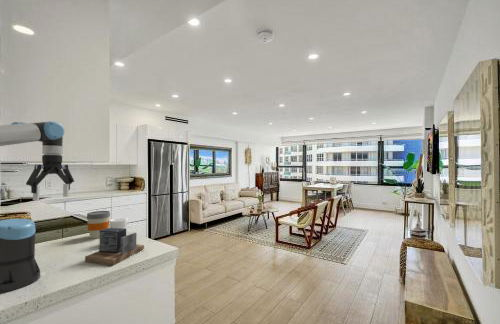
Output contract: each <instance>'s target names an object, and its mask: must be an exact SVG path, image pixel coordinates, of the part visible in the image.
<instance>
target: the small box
mask: <svg viewBox="0 0 500 324" xmlns="http://www.w3.org/2000/svg"><path fill="white" fill-rule="evenodd" d="M124 236H127V230H126V229H123V228H110V227H108V228H107V229H103V230H100V238H99V246H98V247H99V250H98V251H99V252H107V253H119V252H121V238H122V237H124Z"/></svg>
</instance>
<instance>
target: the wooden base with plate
mask: <svg viewBox="0 0 500 324" xmlns="http://www.w3.org/2000/svg"><path fill="white" fill-rule="evenodd" d="M143 249H144V250H145V244H137V232H133V233H130V234H126V236H124V237H122V238H121V252H119V253H107V252H99V250H98V251H95V252H93V253H91V254H88V255H85V256H84V262H85V263H89V264H99V265H101V264H102V265H107V266H115V265H118V264H119V263H121V262H124V261H125V260H128V259H129V258H131V257H133V256H134V254H135V255H137V254H139V253H140V251H141V252H142V250H143ZM144 250H143V251H144ZM138 252H139V253H138ZM136 253H137V254H136ZM132 255H133V256H132ZM130 256H131V257H130Z"/></svg>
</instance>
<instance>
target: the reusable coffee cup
mask: <svg viewBox="0 0 500 324" xmlns="http://www.w3.org/2000/svg"><path fill="white" fill-rule="evenodd" d="M110 217H111V212H110V211H109V210H97V211H90V212H87V214H86V219H87V223H86V225H87V230H88V233H89V238H90V239H100V230H103V229H107V228H110V220H111V219H110Z"/></svg>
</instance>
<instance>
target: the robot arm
mask: <svg viewBox="0 0 500 324" xmlns="http://www.w3.org/2000/svg"><path fill="white" fill-rule="evenodd" d="M64 135H65V128H64V126H63V125H62V124H61V123H60V122H59V121H58V122H57V121H52V120H51V121H41V122H30V123H29V122H28V123H27V122H18V121H14V122H12V123H10V124H0V147H5V146H11V145H19V144H25V143H26V144H27V143H34V142H41V145H42V148H41V149H42V150H41V151H42V155H41V156H42V157H41V163H42V164H34V169H33V171H32V173H31V174H30V176H29V178H27V181H26V183H25V185H26V186H29V187H31V188H30V189H31V190H30V191H31V194H32V201H37V202H38V201H40V186H39V184H40V183H42V181H43V180H44V179H45V178H46V177H47V176H48V175H53V174H54V175H57V176H58V177H59V178H60V179H61V181H63V185H62V188H63V189H62V197H64V198H66V197H67V198H68V197H69V195H70V194H69V192H70V190H71V184H72V183H75V179H74V177H73V176H72V173H71V171H70V170H69V165H68V164H62V162H63V139H64V138H63V137H64ZM36 229H37V228H36V224H35V222H34V220H32V219H29V218H8V219H2V218H0V293H4V292H3V291H6V292H10V291H14V290H17V289H21V288H23V287H26V286H29V285H31V284H33V283H35V282H37V281H39V279H40V278H41V269H40V267H39V265H38V263H37V260H36V259H35V257H36V255H35V253H36V252H35V251H36Z"/></svg>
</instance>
